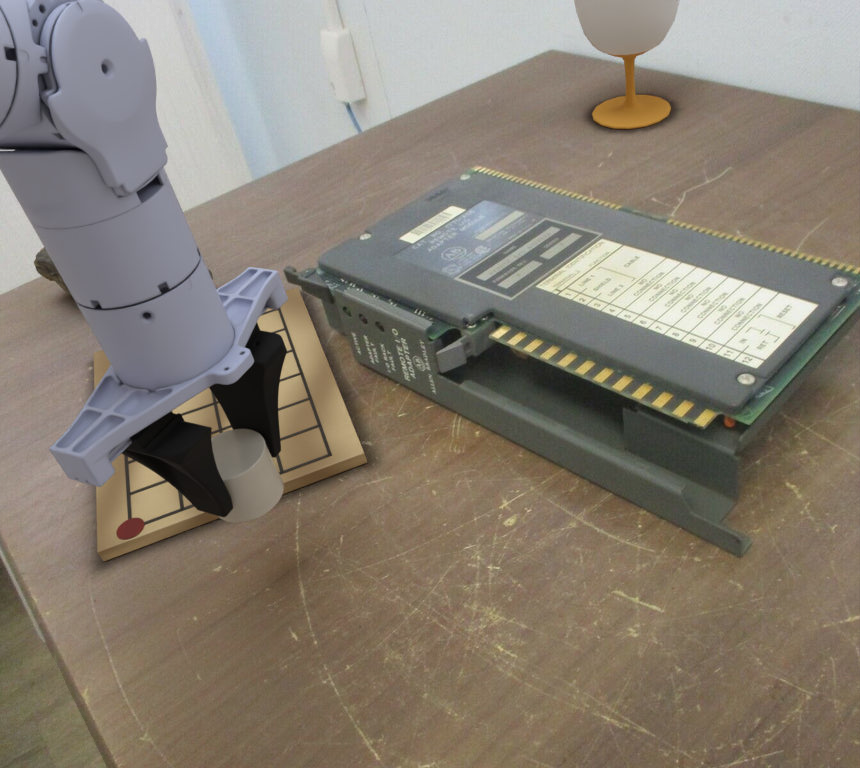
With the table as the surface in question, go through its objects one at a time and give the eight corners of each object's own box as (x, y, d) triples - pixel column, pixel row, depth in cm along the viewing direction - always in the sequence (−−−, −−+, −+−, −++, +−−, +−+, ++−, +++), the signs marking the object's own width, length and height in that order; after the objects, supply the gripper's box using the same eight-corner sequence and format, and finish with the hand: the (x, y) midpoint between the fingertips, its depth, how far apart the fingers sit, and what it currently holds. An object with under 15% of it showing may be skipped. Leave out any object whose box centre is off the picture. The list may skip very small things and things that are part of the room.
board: (103, 562, 54) (96, 551, 54) (98, 361, 72) (92, 352, 71) (367, 462, 58) (364, 451, 57) (301, 295, 76) (297, 285, 75)
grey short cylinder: (218, 533, 45) (194, 491, 43) (210, 485, 48) (188, 443, 46) (289, 506, 46) (270, 464, 44) (278, 461, 49) (259, 418, 47)
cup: (576, 137, 93) (562, -26, 82) (584, 95, 102) (572, -57, 91) (683, 131, 91) (684, -38, 80) (682, 88, 100) (682, -69, 89)
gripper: (84, 391, 31) (214, 604, 40) (300, 201, 41) (367, 406, 50) (-42, 362, 34) (106, 568, 43) (189, 190, 44) (271, 386, 52)
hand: (240, 479), depth 46 cm, fingers closed on grey short cylinder, 4 cm apart
